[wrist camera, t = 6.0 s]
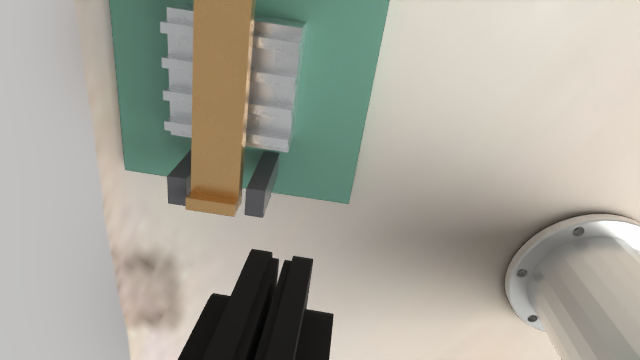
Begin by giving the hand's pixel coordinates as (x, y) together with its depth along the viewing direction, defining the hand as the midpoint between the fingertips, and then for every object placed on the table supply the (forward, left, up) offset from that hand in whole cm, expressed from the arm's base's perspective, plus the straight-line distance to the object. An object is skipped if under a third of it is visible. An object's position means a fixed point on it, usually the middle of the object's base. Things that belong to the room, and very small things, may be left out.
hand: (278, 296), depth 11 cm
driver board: (+6, -1, -21) cm, 21 cm away
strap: (+6, -1, -15) cm, 16 cm away
